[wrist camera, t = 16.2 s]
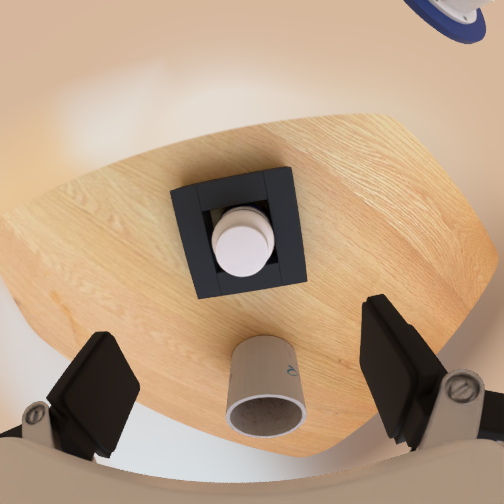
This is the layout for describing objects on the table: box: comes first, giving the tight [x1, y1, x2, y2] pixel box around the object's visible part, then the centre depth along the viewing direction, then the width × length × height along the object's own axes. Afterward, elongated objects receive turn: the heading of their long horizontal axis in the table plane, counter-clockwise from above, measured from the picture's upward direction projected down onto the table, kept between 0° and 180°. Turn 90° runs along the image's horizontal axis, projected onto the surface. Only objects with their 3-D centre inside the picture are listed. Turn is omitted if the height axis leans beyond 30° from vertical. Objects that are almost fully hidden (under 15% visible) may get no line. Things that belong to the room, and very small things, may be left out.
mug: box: [226, 335, 307, 438], centre depth 30 cm, size 12×9×10 cm
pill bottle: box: [212, 202, 274, 277], centre depth 24 cm, size 5×5×9 cm
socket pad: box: [170, 166, 307, 299], centre depth 27 cm, size 11×11×4 cm
